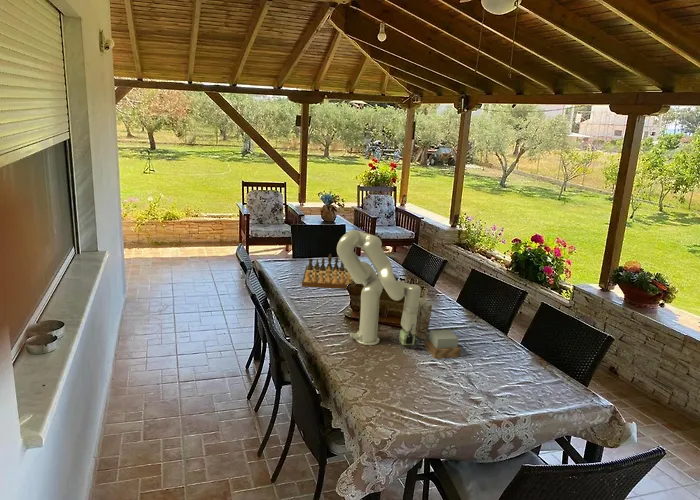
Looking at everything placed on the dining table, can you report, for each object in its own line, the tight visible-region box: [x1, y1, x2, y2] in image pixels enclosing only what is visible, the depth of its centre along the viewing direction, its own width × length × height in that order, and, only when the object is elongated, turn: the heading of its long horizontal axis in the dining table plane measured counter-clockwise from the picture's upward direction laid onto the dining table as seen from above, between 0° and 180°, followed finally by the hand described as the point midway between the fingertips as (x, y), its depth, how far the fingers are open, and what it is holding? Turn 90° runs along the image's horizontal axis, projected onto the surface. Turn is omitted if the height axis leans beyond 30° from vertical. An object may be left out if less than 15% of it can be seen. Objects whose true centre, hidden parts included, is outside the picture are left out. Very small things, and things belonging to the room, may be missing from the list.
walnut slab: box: [423, 338, 462, 360], centre depth 268 cm, size 14×14×5 cm
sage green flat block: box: [428, 329, 459, 349], centre depth 267 cm, size 11×11×5 cm
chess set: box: [301, 253, 353, 290], centre depth 373 cm, size 40×40×15 cm
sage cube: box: [398, 329, 416, 346], centre depth 271 cm, size 6×6×6 cm
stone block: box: [415, 297, 433, 340], centre depth 286 cm, size 13×7×20 cm, turn 18°
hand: (406, 340), depth 271 cm, fingers closed on sage cube, 6 cm apart
